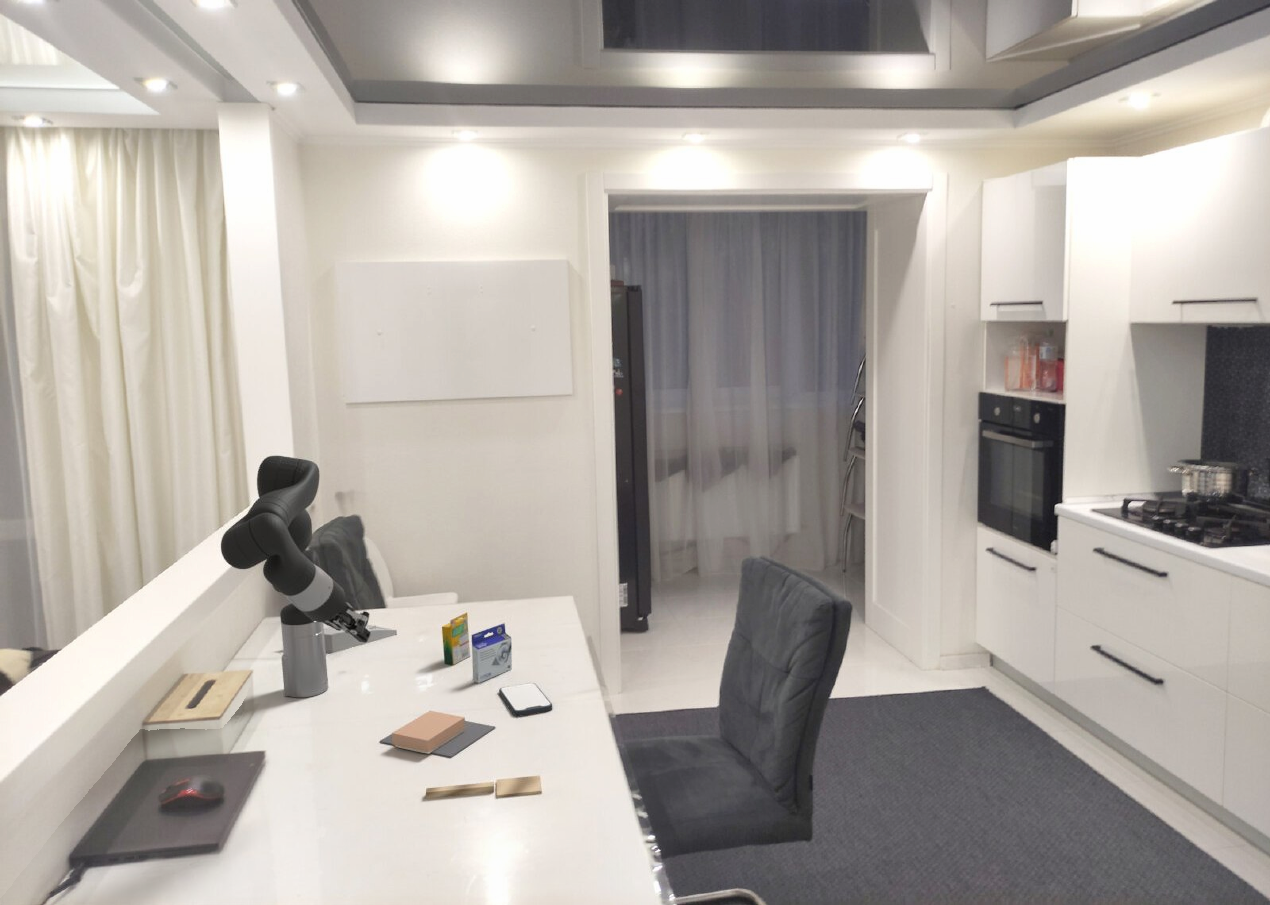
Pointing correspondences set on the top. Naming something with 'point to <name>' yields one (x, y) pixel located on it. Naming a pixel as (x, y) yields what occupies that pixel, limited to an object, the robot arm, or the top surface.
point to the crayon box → (456, 640)
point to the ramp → (352, 638)
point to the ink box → (491, 653)
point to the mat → (457, 739)
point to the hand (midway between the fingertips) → (365, 637)
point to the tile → (428, 732)
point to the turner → (491, 788)
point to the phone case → (525, 699)
